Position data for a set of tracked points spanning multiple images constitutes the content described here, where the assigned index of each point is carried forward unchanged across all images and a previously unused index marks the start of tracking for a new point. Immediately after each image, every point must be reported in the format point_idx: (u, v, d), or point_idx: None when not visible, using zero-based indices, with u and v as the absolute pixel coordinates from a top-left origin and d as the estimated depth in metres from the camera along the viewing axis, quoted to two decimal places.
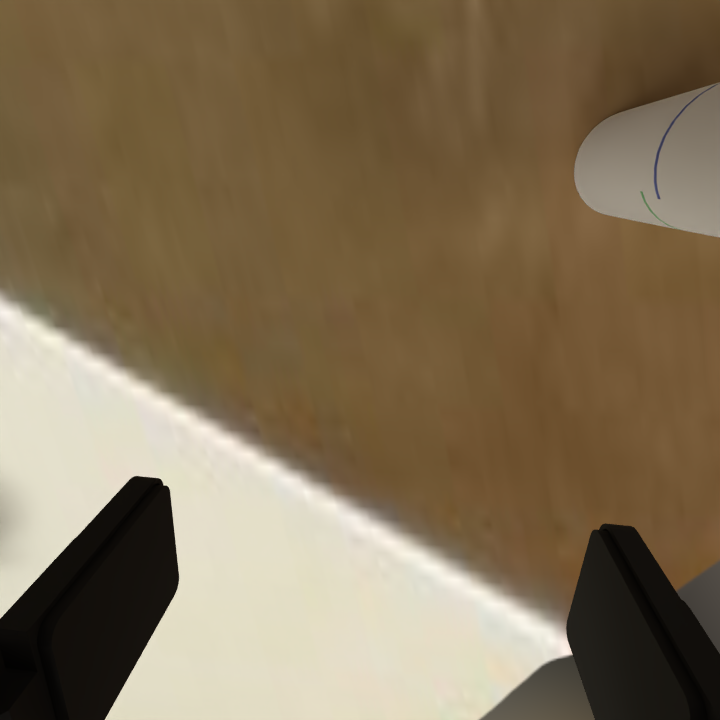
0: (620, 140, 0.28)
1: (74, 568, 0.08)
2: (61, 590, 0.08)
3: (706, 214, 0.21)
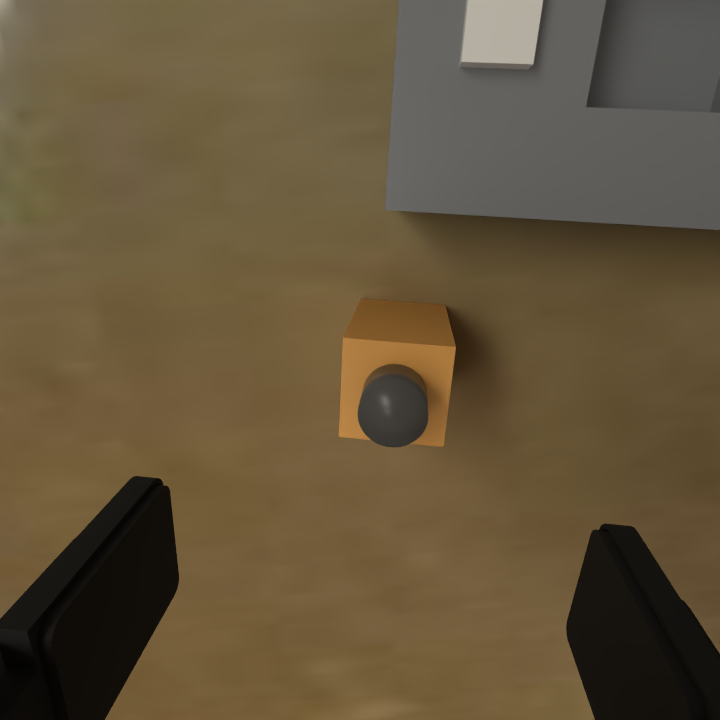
0: None
1: (74, 568, 0.08)
2: (61, 591, 0.08)
3: None
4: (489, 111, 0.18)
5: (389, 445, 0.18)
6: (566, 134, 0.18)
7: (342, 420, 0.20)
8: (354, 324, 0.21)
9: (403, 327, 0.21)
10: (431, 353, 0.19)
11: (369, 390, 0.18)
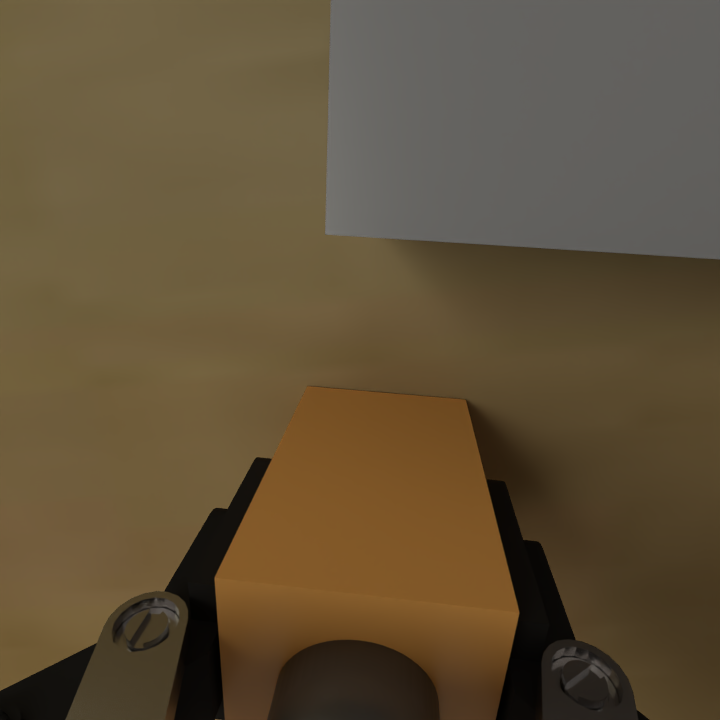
0: None
1: None
2: None
3: None
4: None
5: None
6: None
7: None
8: (266, 494, 0.09)
9: (379, 502, 0.09)
10: (450, 623, 0.07)
11: None
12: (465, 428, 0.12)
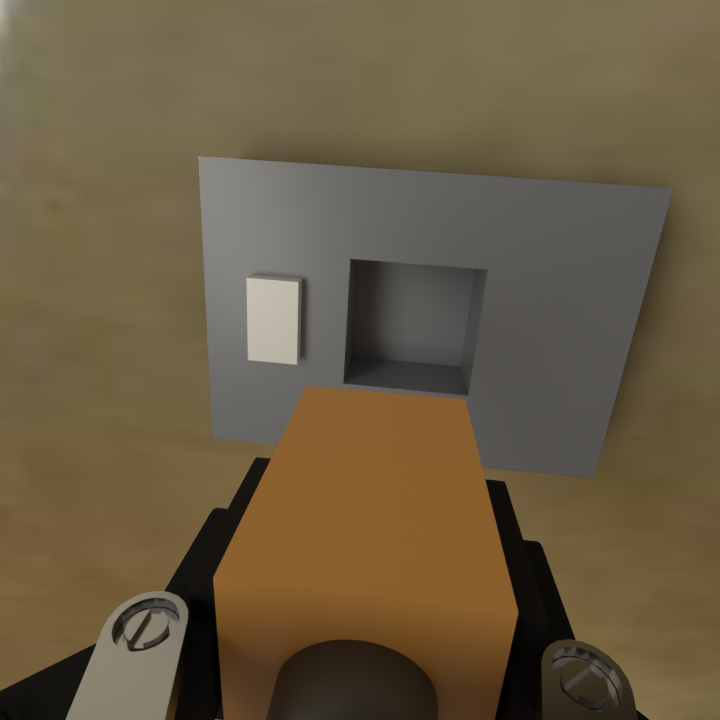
0: None
1: None
2: None
3: None
4: (277, 381, 0.25)
5: None
6: None
7: None
8: (265, 494, 0.09)
9: (379, 502, 0.09)
10: (448, 622, 0.07)
11: None
12: (464, 428, 0.12)
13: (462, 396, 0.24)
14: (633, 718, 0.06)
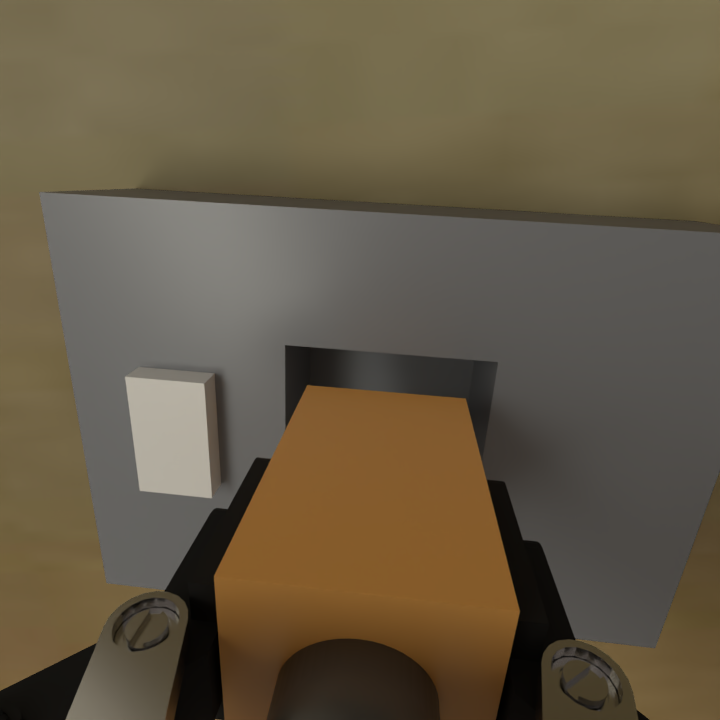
0: None
1: None
2: None
3: None
4: (190, 513, 0.17)
5: None
6: None
7: None
8: (266, 493, 0.09)
9: (379, 501, 0.09)
10: (450, 622, 0.07)
11: None
12: (465, 427, 0.12)
13: None
14: (633, 718, 0.06)
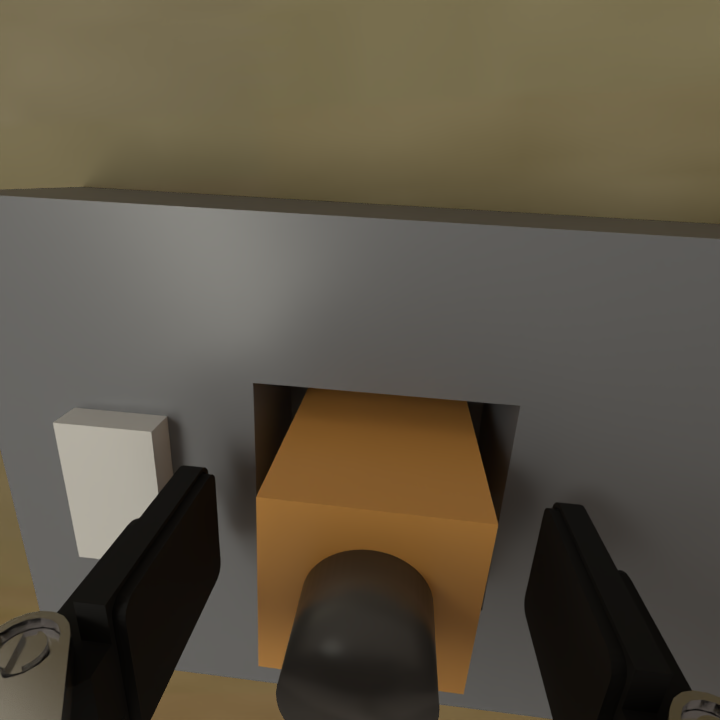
0: None
1: (139, 549, 0.08)
2: (130, 570, 0.08)
3: None
4: None
5: None
6: (243, 606, 0.14)
7: (263, 640, 0.10)
8: (292, 442, 0.11)
9: (386, 449, 0.11)
10: (443, 534, 0.09)
11: (301, 653, 0.07)
12: None
13: None
14: None
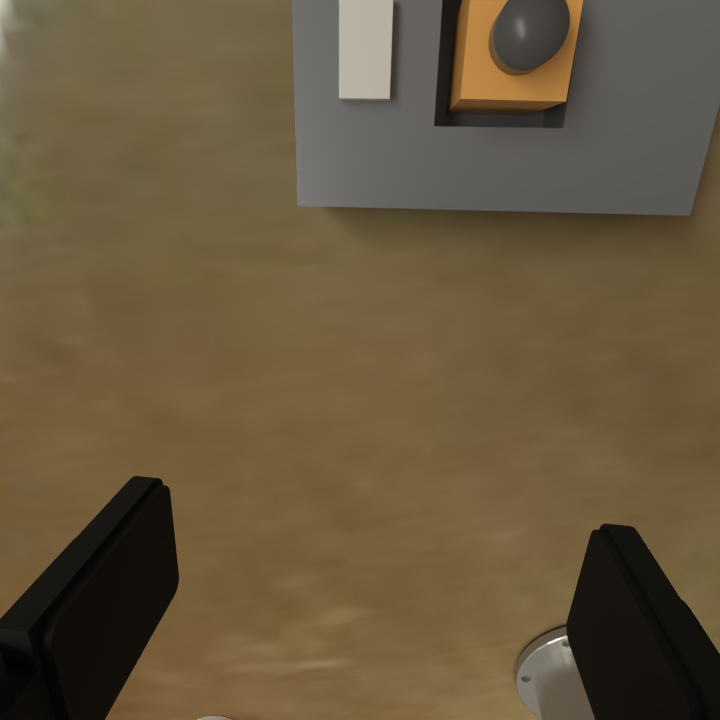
0: None
1: (74, 568, 0.08)
2: (61, 591, 0.08)
3: None
4: (366, 131, 0.24)
5: (527, 64, 0.18)
6: (422, 146, 0.24)
7: (465, 78, 0.20)
8: None
9: None
10: None
11: None
12: None
13: (557, 129, 0.24)
14: None
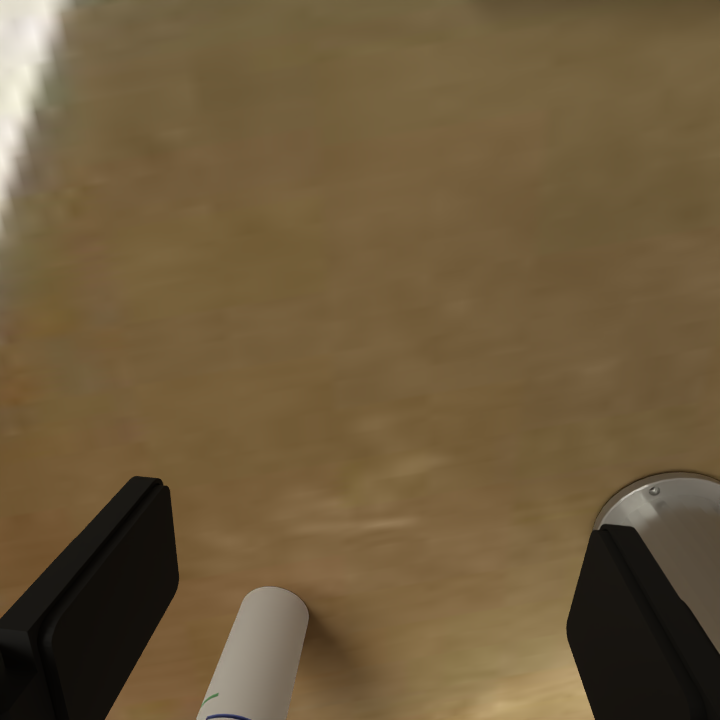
0: (263, 654, 0.42)
1: (74, 568, 0.08)
2: (61, 591, 0.08)
3: None
4: None
5: None
6: None
7: None
8: None
9: None
10: None
11: None
12: None
13: None
14: None
